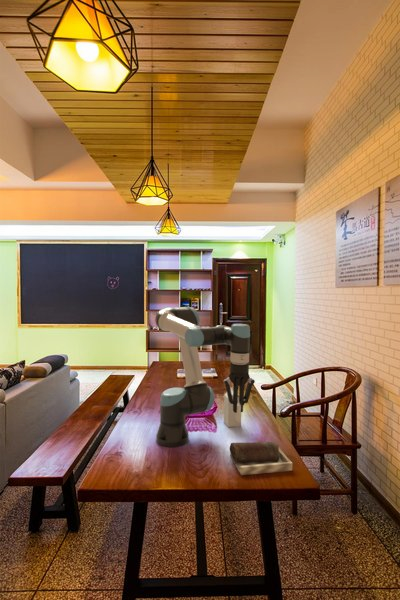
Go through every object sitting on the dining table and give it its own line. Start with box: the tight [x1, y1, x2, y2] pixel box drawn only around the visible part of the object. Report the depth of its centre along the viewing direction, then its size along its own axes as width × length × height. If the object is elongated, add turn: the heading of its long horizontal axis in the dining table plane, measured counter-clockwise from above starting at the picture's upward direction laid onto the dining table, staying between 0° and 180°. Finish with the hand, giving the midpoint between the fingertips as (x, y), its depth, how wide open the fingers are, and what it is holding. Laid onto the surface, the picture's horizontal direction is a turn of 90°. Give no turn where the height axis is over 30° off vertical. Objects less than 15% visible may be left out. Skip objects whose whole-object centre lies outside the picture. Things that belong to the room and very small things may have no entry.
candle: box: [229, 441, 280, 463], centre depth 134 cm, size 8×7×20 cm
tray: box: [229, 447, 293, 476], centre depth 133 cm, size 21×15×3 cm
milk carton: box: [223, 386, 242, 428], centre depth 171 cm, size 7×7×19 cm
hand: (237, 419), depth 132 cm, fingers closed
